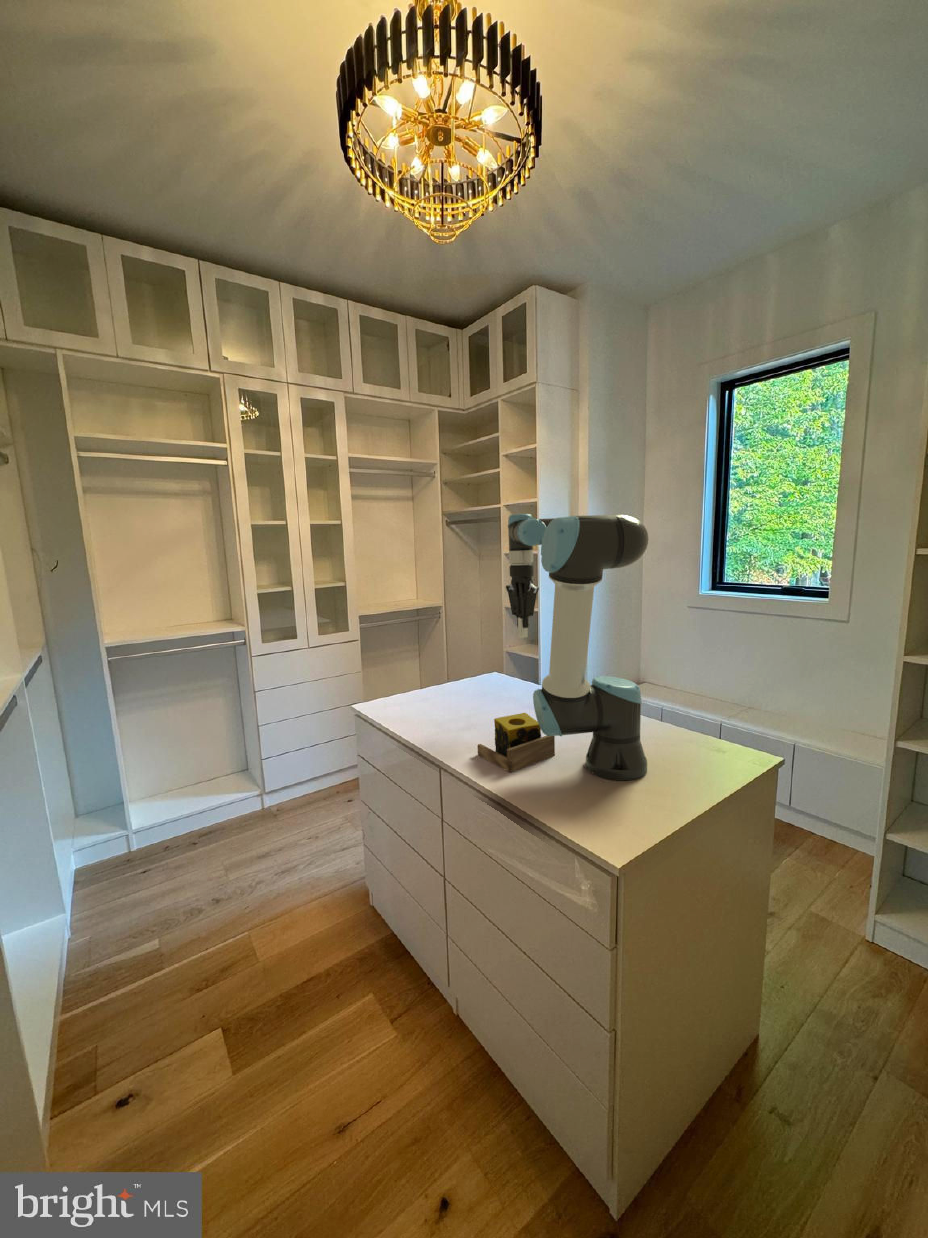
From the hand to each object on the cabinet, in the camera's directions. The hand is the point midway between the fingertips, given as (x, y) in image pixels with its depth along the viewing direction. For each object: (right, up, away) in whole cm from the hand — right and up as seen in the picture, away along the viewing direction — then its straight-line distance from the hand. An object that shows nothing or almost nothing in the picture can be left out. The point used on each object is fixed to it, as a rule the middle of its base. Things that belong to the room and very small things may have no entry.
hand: (523, 637), depth 160 cm
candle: (-4, -32, -22) cm, 39 cm away
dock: (-5, -32, -22) cm, 39 cm away
